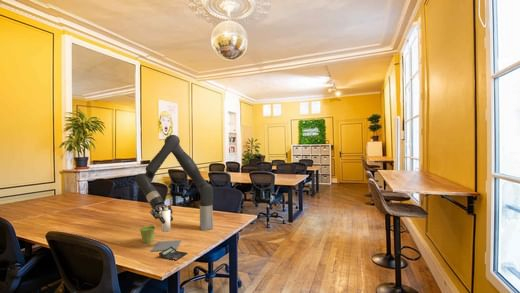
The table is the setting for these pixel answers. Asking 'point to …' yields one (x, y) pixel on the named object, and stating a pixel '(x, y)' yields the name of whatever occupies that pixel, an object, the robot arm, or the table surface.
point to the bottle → (166, 220)
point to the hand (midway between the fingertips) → (168, 221)
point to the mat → (165, 245)
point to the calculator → (172, 254)
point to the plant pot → (147, 233)
